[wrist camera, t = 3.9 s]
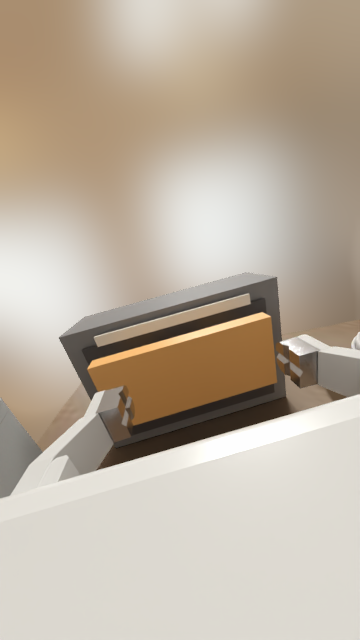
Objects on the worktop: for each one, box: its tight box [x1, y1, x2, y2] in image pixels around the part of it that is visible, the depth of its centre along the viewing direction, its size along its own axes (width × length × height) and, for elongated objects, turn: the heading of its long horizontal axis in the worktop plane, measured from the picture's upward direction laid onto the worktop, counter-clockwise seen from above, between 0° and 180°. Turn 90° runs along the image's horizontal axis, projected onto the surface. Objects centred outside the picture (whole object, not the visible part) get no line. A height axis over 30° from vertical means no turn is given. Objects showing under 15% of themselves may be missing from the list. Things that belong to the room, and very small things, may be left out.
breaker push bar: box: [87, 312, 277, 426], centre depth 18 cm, size 3×16×7 cm, turn 97°
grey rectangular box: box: [59, 273, 286, 448], centre depth 28 cm, size 9×26×18 cm, turn 97°
